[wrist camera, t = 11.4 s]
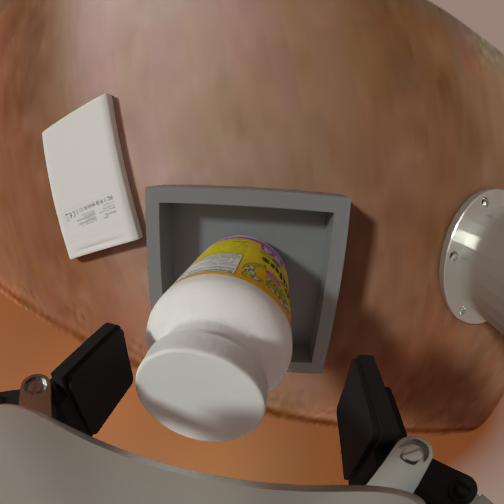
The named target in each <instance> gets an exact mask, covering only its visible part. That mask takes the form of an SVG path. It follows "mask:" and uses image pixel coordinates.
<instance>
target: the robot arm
mask: <svg viewBox="0 0 504 504" xmlns="http://www.w3.org/2000/svg"><path fill="white" fill-rule="evenodd" d="M439 283H440V288H441V294H442V297H443V299H444V302H445V304H446V306H447V307H448V309H449V310H450V311H451V313H452V314H453V315H455V316H456V317H457V318H458V319H459V320H461V321H463V322H464V323H469V324H481V323H484V322H489V323H490V324H491V325H492V326H493V327H494V328H495V329H496V330H497V331H498V332H500V333H501V334H502V335H503V336H504V190H502V189H497V188H487V189H484V190H481V191H479V192H477V193H476V194H474V195H473V196H471V197H470V198H469V199H468V200H467V201H466V202H465V203H464V204H463V205H462V206H461V208H460V209H459V211H458V212H457V214H456V215H455V217H454V219H453V221H452V223H451V225H450V227H449V229H448V232H447V234H446V237H445V240H444V243H443V248H442V252H441V256H440V266H439ZM51 376H52V378H51V379H49V378H48V377H47V376H45V375H42V374H34V375H30V376H29V377H27V378H26V379H24V380H23V382H22V384H21V388H20V389H19V390H12V391H5V392H0V504H493V503H492V502H491V501H490V500H489V499H487V498H486V497H485V496H484V495H483V494H482V495H481V496H479V495H478V494H477V484H476V482H475V481H474V480H473V478H472V477H470V476H468V475H466V474H464V473H462V472H460V471H457V470H455V469H453V468H451V467H449V466H447V465H445V464H442V463H441V462H439V461H437V460H435V459H432V457H433V449H432V447H431V445H430V444H429V442H427V440H425V439H423V438H421V437H418V436H408V437H407V434H406V431H405V428H404V425H403V422H402V419H401V416H400V413H399V410H398V408H397V405H396V402H395V399H394V397H393V394H392V391H391V389H390V388H389V387H385V386H384V383H383V381H382V378H381V375H380V372H379V370H378V367H377V364H376V362H375V359H374V357H373V356H372V355H358V357H357V359H353V360H352V362H351V366H350V369H349V372H348V376H347V379H346V382H345V385H344V388H343V391H342V394H341V397H340V400H339V403H338V406H337V420H338V428H339V435H340V445H341V454H342V462H343V463H342V464H343V474H344V479H345V480H349V485H293V484H276V483H265V482H255V481H247V480H239V479H233V478H227V477H221V476H215V475H210V474H205V473H200V472H196V471H192V470H187V469H183V468H179V467H175V466H172V465H168V464H165V463H161V462H158V461H154V460H151V459H148V458H145V457H142V456H139V455H136V454H133V453H131V452H128V451H125V450H122V449H120V448H117V447H115V446H112V445H110V444H107V443H105V442H102V441H100V440H98V439H96V438H93V437H92V436H93V434H97V433H98V431H99V430H100V428H101V427H102V425H103V424H104V423H105V421H106V420H107V418H108V417H109V416H110V414H111V413H112V411H113V410H114V408H115V407H116V406H117V404H118V403H119V401H120V400H121V399H122V397H123V396H124V394H125V393H126V391H127V390H128V389H129V387H130V386H131V384H132V382H133V374H132V370H131V366H130V362H129V357H128V352H127V348H126V343H125V338H124V333H123V330H122V329H121V328H120V326H118V325H115V324H111V323H105V324H104V325H103V326H102V327H101V328H99V329H98V330H97V331H96V332H95V333H94V334H93V335H92V336H91V337H89V338H88V339H87V340H86V341H85V342H84V343H83V344H82V345H81V346H80V347H79V348H77V349H76V350H75V351H74V352H73V353H72V354H71V355H70V356H69V357H68V358H67V359H66V360H64V361H63V362H62V363H61V364H60V365H59V366H58V367H57V368H56V369H55V370H54V371H53V372H52V373H51Z"/></svg>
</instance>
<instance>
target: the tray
mask: <svg viewBox="0 0 504 504" xmlns="http://www.w3.org/2000/svg"><path fill="white" fill-rule="evenodd" d="M350 208H351V198H350V197H347V196H344V195H340V194H331V193H321V192H310V191H298V190H285V189H271V188H254V187H234V186H206V185H158V186H150V187H146V243H147V262H148V277H149V290H150V301H151V311H152V309H153V308H154V306H155V304H156V303H157V301H158V300H159V299H160V298H161V296H162V295H163V294H164V293H165V292H166V291H167V290H168V289H169V288H170V287H171V286H172V285H173V284H174V283H175V282H176V281H177V279H178V278H179V277H180V276H181V275H182V274H183V273H184V272H185V271H186V270H187V269H188V268H189V267H190V266H191V265H192V264H193V263H194V262H195V261H196V260H197V258H198V257H199V256H200V255H201V254H202V253H203V252H204V251H205V250H206V249H207V248H209V247H210V246H211V245H212V244H214V243H215V242H217V241H219V240H221V239H224V238H227V237H230V236H237V235H242V236H250V237H254V238H257V239H259V240H261V241H263V242H265V243H267V244H268V245H270V246H271V247H272V248H273V249H274V250H275V251H276V252H277V253H278V254H279V256H280V257H281V259H282V260H283V262H284V265H285V267H286V270H287V275H288V283H289V296H290V310H291V329H292V357H291V362H290V365H289V367H288V370H287V372H297V373H323V368H324V364H325V360H326V356H327V351H328V347H329V342H330V337H331V333H332V328H333V323H334V318H335V312H336V307H337V302H338V296H339V290H340V284H341V278H342V271H343V265H344V258H345V251H346V243H347V235H348V227H349V218H350Z"/></svg>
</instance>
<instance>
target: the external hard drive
mask: <svg viewBox="0 0 504 504" xmlns="http://www.w3.org/2000/svg"><path fill="white" fill-rule="evenodd" d="M42 136H43V144H44V151H45V158H46V164H47V170H48V175H49V180H50V186H51V190H52V195H53V199H54V204H55V208H56V212H57V216H58V220H59V223H60V227H61V231H62V234H63V237H64V241H65V244H66V247H67V251H68V254H69V257H70V259H74V258H77V257H80V256H83V255H86V254H90V253H93V252H96V251H100V250H103V249H107V248H110V247H114V246H117V245H121V244H124V243H128V242H132V241H135V240H138V239H140V238H142V237H143V234H142V230H141V227H140V223H139V219H138V216H137V212H136V209H135V205H134V201H133V197H132V193H131V189H130V185H129V181H128V177H127V172H126V168H125V163H124V159H123V154H122V149H121V144H120V139H119V134H118V129H117V123H116V118H115V112H114V106H113V99H112V95H109V94H103V95H101V96H99V97H97V98H95V99H94V100H92V101H90V102H88V103H87V104H85V105H83V106H82V107H80V108H78V109H77V110H75V111H73V112H72V113H70V114H69V115H67V116H66V117H64V118H62V119H61V120H59V121H58V122H56V123H55V124H53V125H52V126H50V127H49V128H48V129H46V130H45V131H44V132H43V133H42Z"/></svg>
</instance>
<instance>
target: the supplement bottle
mask: <svg viewBox="0 0 504 504" xmlns="http://www.w3.org/2000/svg"><path fill="white" fill-rule="evenodd" d="M146 338H147V346H148V350H149V351H148V352H147V354H146V356H145V358H144V359H143V361H142V362H141V364H140V366H139V368H138V370H137V373H136V381H135V382H136V390H137V393H138V396H139V398H140V400H141V402H142V404H143V405H144V407H145V408H146V409H147V411H148V412H149V413H150V414H151V415H152V416H153V417H154V418H155V419H156V420H157V421H159V422H160V423H161V424H163V425H164V426H166V427H167V428H169V429H171V430H172V431H175V432H176V433H179V434H181V435H183V436H186V437H190V438H193V439H197V440H202V441H211V442H218V441H229V440H234V439H237V438H241V437H243V436H245V435H247V434H249V433H251V432H252V431H253V430H254V429H256V428H257V427H258V426H259V424H260V423H261V422H262V420H263V418H264V415H265V412H266V404H267V395H268V393H269V392H271V391H272V390H273V389H274V388H275V387H276V386H277V385H278V384H279V383H280V382H281V380H282V379H283V377H284V376H285V374H286V372H287V370H288V367H289V365H290V362H291V357H292V329H291V310H290V296H289V283H288V275H287V270H286V267H285V265H284V262H283V260H282V259H281V257H280V256H279V254H278V253H277V252H276V251H275V250H274V249H273V248H272V247H271V246H270V245H268V244H267V243H265V242H263V241H261V240H259V239H257V238H254V237H250V236H242V235H237V236H230V237H227V238H224V239H221V240H219V241H217V242H215V243H214V244H212V245H211V246H210V247H209V248H207V249H206V250H205V251H204V252H203V253H202V254H201V255H200V256H199V257H198V258H197V260H196V261H195V262H194V263H193V264H192V265H191V266H190V267H189V268H188V269H187V270H186V271H185V272H184V273H183V274H182V275H181V276H180V277H179V278H178V279H177V281H176V282H175V283H174V284H173V285H172V286H171V287H170V288H169V289H168V290H167V291H166V292H165V293H164V294H163V295H162V296H161V298H160V299H159V300H158V301H157V303H156V304H155V306H154V308H153V309H152V311H151V314H150V317H149V320H148V324H147V332H146Z"/></svg>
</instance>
